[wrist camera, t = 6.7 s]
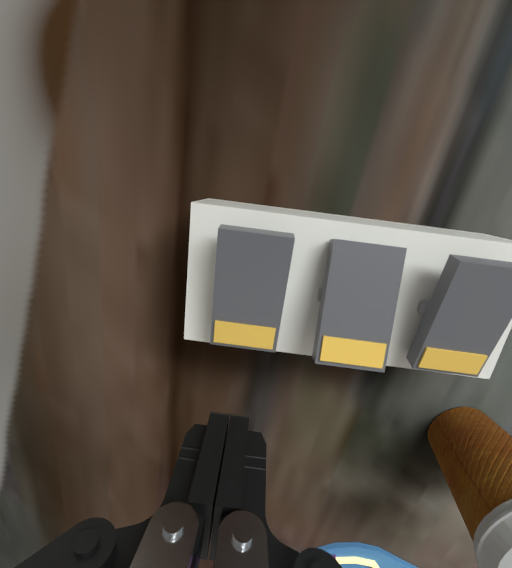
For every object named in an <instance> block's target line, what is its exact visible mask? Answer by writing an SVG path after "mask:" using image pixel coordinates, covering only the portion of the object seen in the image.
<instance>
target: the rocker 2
mask: <svg viewBox="0 0 512 568" xmlns="http://www.w3.org/2000/svg"><path fill="white" fill-rule="evenodd" d="M406 251H407V248H402V247H395V246H387V245H379V244H371V243H364V242H356V241H348V240H340V239H330V242H329V249H328V255H327V262H326V268H325V275H324V281H323V288H322V294H321V301H320V307H319V314H318V320H317V327H316V333H315V340H314V347H313V353H312V359H313V361H314V363H315V364H322V365H330V366H337V367H345V368H352V369H360V370H368V371H375V372H383V373H385V368H386V362H387V357H388V351H389V345H390V340H391V334H392V329H393V323H394V318H395V312H396V307H397V301H398V296H399V290H400V284H401V279H402V273H403V268H404V262H405V257H406Z"/></svg>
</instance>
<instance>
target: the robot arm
mask: <svg viewBox="0 0 512 568" xmlns="http://www.w3.org/2000/svg"><path fill="white" fill-rule="evenodd" d="M228 423H229V428H228ZM248 424H249V416H244V415H237V414H231V416H230V422H229V414H228V413H221V412H213V411H211V413H210V417H209V421H208V424H207V425H199V424H195V425H194V426H193V427H192V428H191V429H190V430H189V431H188V432H187V433H186V435H185V438H184V441H183V444H182V448H181V450H180V453H179V456H178V459H177V462H176V465H175V468H174V471H173V474H172V477H171V480H170V483H169V486H168V489H167V492H166V495H165V498H164V500H163V503H162V505H161V506H160V508H159V509H158V510H157V511H156V512H155V513H154V515H153V516H151V517H150V518H149V519H147V520H145V521H144V522H141V523H139V524H136V525H132V526H127V527H123V528H118V529H115V528H114V526H113V525H112V523H111V522H109V521H108V520H106V519H104V518H90V519H87V520H84V521H82V522H80V523H78V524H77V525H75V526H74V527H72V528H71V529H69V530H68V531H66V532H65V533H64V534H62V535H61V536H59V537H58V538H56V539H55V540H53V541H52V542H51V543H49V544H48V545H46V546H45V547H43V548H42V549H40V550H39V551H38V552H36V553H35V554H33V555H32V556H30V557H29V558H28V559H26V560H25V561H23V562H22V563H20V564H19V565H17V566H16V567H15V568H198V566H199V561H200V559H204V560H207V556H208V550H209V544H210V539H211V547H210V556H209V560H213V561H214V568H342V567H341V565H340V564H339V563H338V561H337V560H336V559H335V558H334V557H333V556H332V555H331V554H329V553H328V552H326V551H324V550H322V549H319V548H308V549H306V550H304V551H302V552H301V553H299V552H297V551H295V550H293V549H291V548H290V547H288V546H286V545H284V544H283V543H281V542H280V541H279V540H277V539H276V538H275V536H274V535H273V534H272V533H271V531H270V529H269V527H268V525H267V522H266V517H265V490H266V443H265V440H264V438H263V436H262V434H261V432H253V431H248ZM227 432H228V434H227ZM212 527H213V529H212ZM211 533H212V538H211Z"/></svg>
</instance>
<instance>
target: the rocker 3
mask: <svg viewBox="0 0 512 568" xmlns="http://www.w3.org/2000/svg"><path fill="white" fill-rule="evenodd" d="M511 319H512V262H507V261H500V260H492V259H484V258H476V257H469V256H461V255H453V254H450V255H449V257H448V260H447V262H446V264H445V267H444V269H443V271H442V274H441V276H440V278H439V281H438V283H437V285H436V288H435V290H434V292H433V295H432V297H431V299H430V302H429V304H428V307H427V309H426V311H425V314H424V316H423V318H422V321H421V323H420V325H419V328H418V330H417V332H416V335H415V337H414V339H413V342H412V344H411V346H410V349H409V351H408V353H407V356H406V358H407V360H408V362H409V363H410V365H411V367H412V369H419V370H427V371H435V372H442V373H450V374H458V375H465V376H473V377H478V376H479V374H480V372H481V370H482V369H483V367H484V365H485V364H486V362H487V360H488V358H489V357H490V355H491V353H492V352H493V350H494V348H495V346H496V345H497V343H498V341H499V340H500V338H501V336H502V334H503V333H504V331H505V329H506V328H507V326H508V324H509V322H510V321H511Z"/></svg>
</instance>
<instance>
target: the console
mask: <svg viewBox="0 0 512 568" xmlns="http://www.w3.org/2000/svg"><path fill="white" fill-rule="evenodd" d="M221 224H224V225H232V226H240V227H248V228H255V229H263V230H271V231H279V232H286V233H294V236H295V241H294V247H293V253H292V259H291V265H290V270H289V276H288V282H287V288H286V294H285V300H284V306H283V311H282V317H281V323H280V329H279V335H278V341H277V346H276V351H278V352H286V353H294V354H301V355H309V356H312V353H313V347H314V340H315V333H316V327H317V320H318V314H319V307H320V301H321V294H322V288H323V281H324V275H325V268H326V262H327V255H328V249H329V242H330V239H340V240H348V241H356V242H364V243H371V244H379V245H387V246H395V247H402V248H407V251H406V257H405V262H404V268H403V273H402V279H401V284H400V290H399V296H398V301H397V307H396V312H395V318H394V323H393V329H392V334H391V340H390V345H389V351H388V357H387V362H386V366H393V367H401V368H408V369H412V367H411V365H410V363H409V362H408V360H407V358H406V356H407V353H408V351H409V349H410V346H411V344H412V342H413V339H414V337H415V335H416V332H417V330H418V328H419V325H420V323H421V321H422V318H423V316H424V314H425V311H426V309H427V307H428V304H429V302H430V299H431V297H432V295H433V292H434V290H435V288H436V285H437V283H438V281H439V278H440V276H441V274H442V271H443V269H444V267H445V264H446V262H447V260H448V257H449V255H450V254H453V255H461V256H469V257H476V258H484V259H492V260H500V261H507V262H512V240H509V239H505V238H500V237H496V236H492V235H487V234H483V233H475V232H467V231H459V230H452V229H444V228H436V227H428V226H421V225H413V224H405V223H397V222H390V221H382V220H374V219H366V218H358V217H351V216H343V215H335V214H327V213H320V212H312V211H304V210H296V209H289V208H281V207H273V206H265V205H258V204H250V203H242V202H234V201H226V200H219V199H211V198H208V199H203V200H199V201H194V202H191V215H190V234H189V252H188V271H187V289H186V308H185V326H184V339H187V340H194V341H202V342H210V335H211V321H212V307H213V292H214V278H215V264H216V250H217V235H218V228H219V226H220V225H221ZM511 327H512V319H511V321H510V322H509V324H508V326H507V328H506V329H505V331H504V333H503V334H502V336H501V338H500V340H499V341H498V343H497V345H496V346H495V348H494V350H493V352H492V353H491V355H490V357H489V358H488V360H487V362H486V364H485V365H484V367H483V369H482V370H481V372H480V374H479V376H478V377H477V378H485V379H490V377H491V374H492V372H493V369H494V367H495V365H496V362H497V360H498V358H499V355H500V353H501V351H502V348H503V346H504V343H505V341H506V339H507V336H508V334H509V332H510V329H511ZM416 370H419V369H416ZM424 371H427V370H424ZM431 372H435V371H431ZM439 373H442V372H439ZM447 374H450V373H447ZM454 375H458V374H454ZM462 376H465V375H462ZM469 377H473V376H469Z"/></svg>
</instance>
